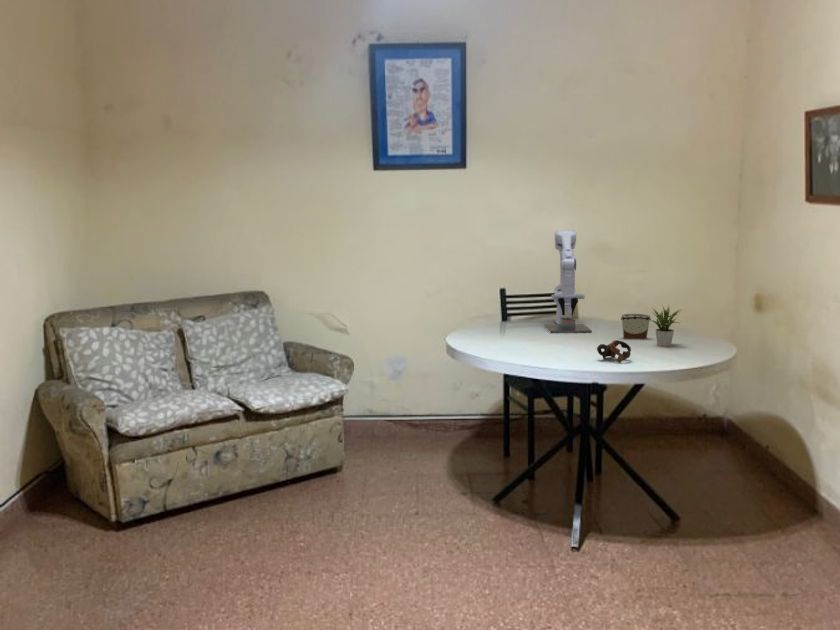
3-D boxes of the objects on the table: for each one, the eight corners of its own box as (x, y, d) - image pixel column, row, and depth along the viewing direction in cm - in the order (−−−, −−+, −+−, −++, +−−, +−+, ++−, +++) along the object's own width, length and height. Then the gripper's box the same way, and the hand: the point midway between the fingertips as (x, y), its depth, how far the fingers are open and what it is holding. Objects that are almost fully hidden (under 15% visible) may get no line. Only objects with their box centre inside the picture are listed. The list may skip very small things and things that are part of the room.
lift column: (563, 325, 339) (563, 307, 337) (570, 325, 339) (570, 307, 337) (564, 326, 335) (564, 308, 334) (571, 326, 335) (572, 308, 334)
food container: (647, 336, 318) (648, 313, 316) (650, 339, 312) (651, 315, 310) (617, 336, 319) (618, 313, 317) (620, 339, 313) (620, 315, 311)
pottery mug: (620, 357, 278) (630, 340, 274) (626, 373, 271) (636, 356, 266) (591, 350, 277) (599, 333, 272) (595, 366, 269) (604, 349, 264)
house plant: (689, 349, 290) (691, 307, 287) (653, 349, 291) (654, 307, 288) (679, 342, 304) (680, 302, 302) (644, 342, 305) (646, 303, 302)
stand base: (544, 326, 346) (544, 314, 345) (583, 326, 346) (583, 314, 345) (550, 333, 328) (550, 320, 328) (591, 332, 328) (591, 320, 327)
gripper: (553, 286, 330) (552, 316, 332) (586, 285, 330) (585, 316, 332) (550, 284, 337) (550, 314, 339) (582, 284, 337) (582, 313, 339)
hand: (567, 315), depth 336 cm, fingers closed on lift column, 3 cm apart
